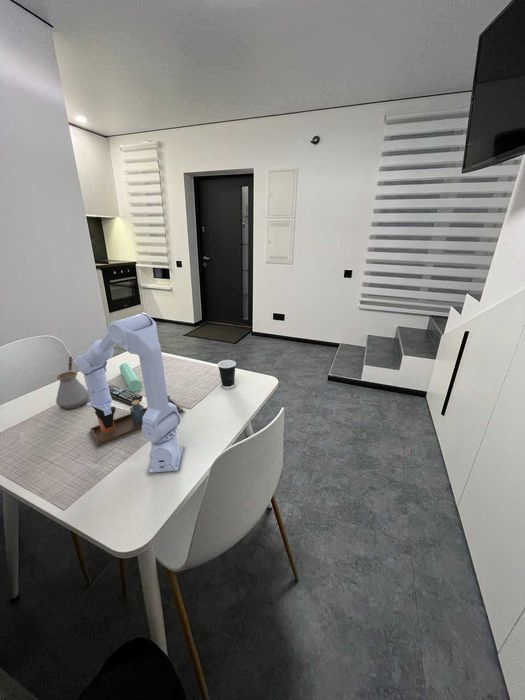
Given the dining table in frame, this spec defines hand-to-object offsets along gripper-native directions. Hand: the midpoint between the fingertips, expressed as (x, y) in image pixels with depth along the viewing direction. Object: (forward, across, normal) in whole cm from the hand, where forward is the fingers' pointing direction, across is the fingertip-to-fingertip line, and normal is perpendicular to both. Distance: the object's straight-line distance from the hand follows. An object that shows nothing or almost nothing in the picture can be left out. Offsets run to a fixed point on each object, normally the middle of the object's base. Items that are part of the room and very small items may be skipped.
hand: (107, 423), depth 96 cm
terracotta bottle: (+2, 0, 0) cm, 2 cm away
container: (+4, -35, +18) cm, 40 cm away
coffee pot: (+4, -34, -4) cm, 35 cm away
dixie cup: (+4, -1, +49) cm, 50 cm away
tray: (+4, 0, +10) cm, 11 cm away
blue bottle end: (+4, 0, +20) cm, 20 cm away
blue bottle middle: (+4, 0, +10) cm, 11 cm away
